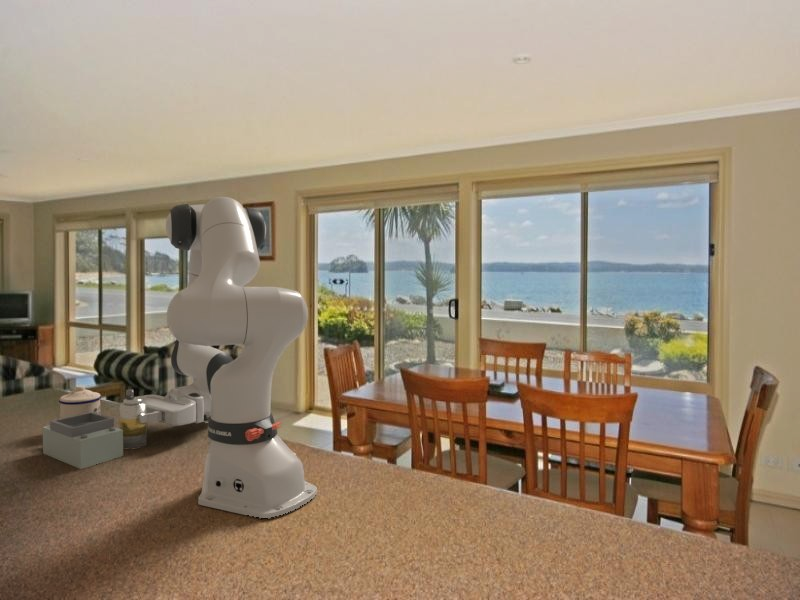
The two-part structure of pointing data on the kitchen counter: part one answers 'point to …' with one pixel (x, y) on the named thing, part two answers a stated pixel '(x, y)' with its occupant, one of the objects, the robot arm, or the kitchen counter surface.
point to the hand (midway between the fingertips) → (129, 416)
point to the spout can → (133, 421)
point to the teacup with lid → (79, 402)
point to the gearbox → (83, 440)
